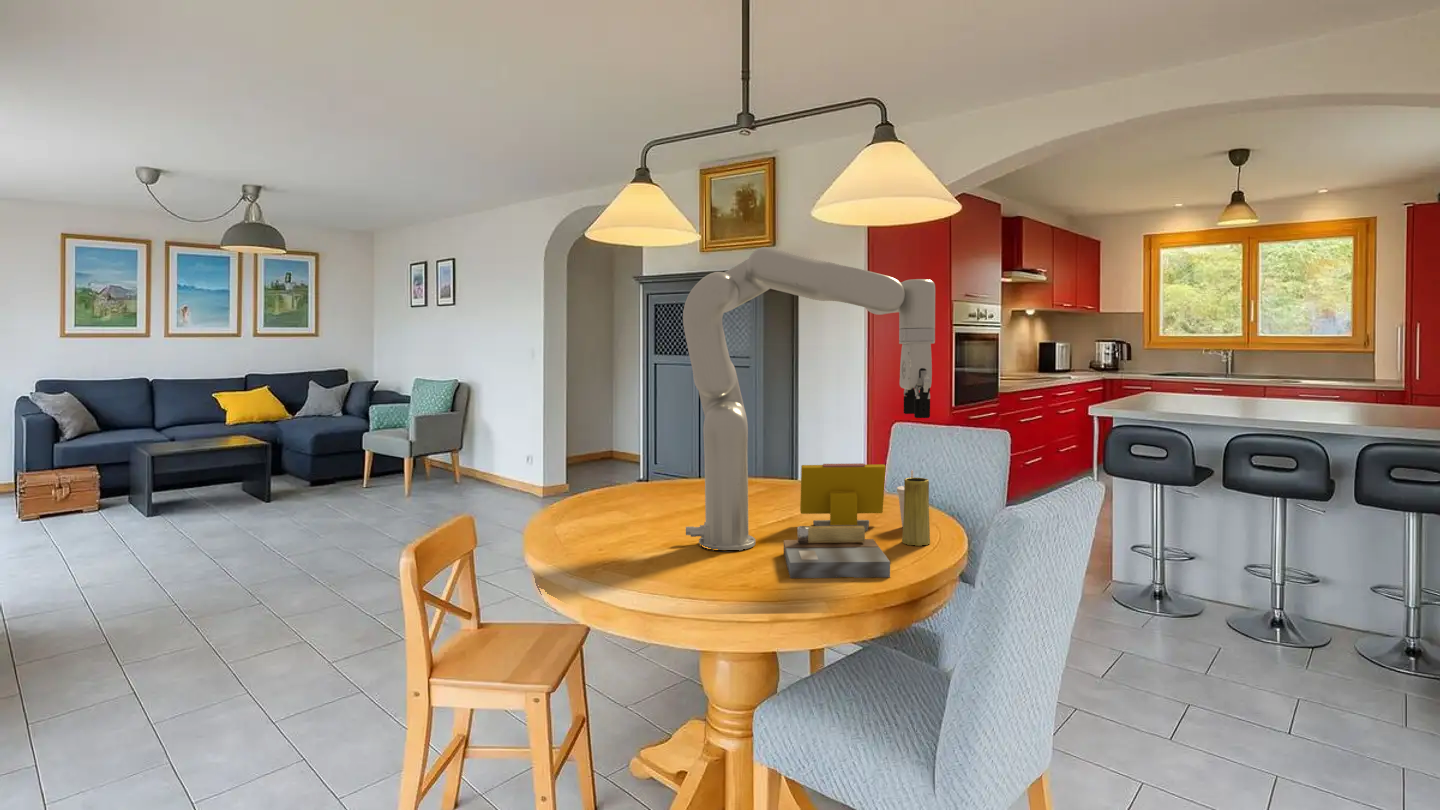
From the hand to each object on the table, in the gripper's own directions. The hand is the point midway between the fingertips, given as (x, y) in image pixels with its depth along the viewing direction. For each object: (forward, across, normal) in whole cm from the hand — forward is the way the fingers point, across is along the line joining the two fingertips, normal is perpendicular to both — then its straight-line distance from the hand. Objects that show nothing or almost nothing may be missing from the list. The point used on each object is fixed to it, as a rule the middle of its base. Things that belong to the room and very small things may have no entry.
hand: (916, 415), depth 169 cm
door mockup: (+28, +16, -20) cm, 39 cm away
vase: (+29, -1, 0) cm, 29 cm away
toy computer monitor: (+29, -16, -14) cm, 36 cm away
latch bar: (+25, +10, -20) cm, 34 cm away
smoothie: (+29, -15, +2) cm, 32 cm away
